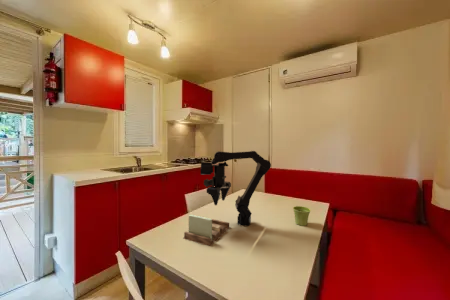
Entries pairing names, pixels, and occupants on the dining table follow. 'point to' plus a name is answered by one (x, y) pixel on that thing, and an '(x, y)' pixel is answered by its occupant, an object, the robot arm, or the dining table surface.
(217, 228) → the offcut
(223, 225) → the rack
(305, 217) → the plant pot
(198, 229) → the sheet
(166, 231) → the dining table surface
